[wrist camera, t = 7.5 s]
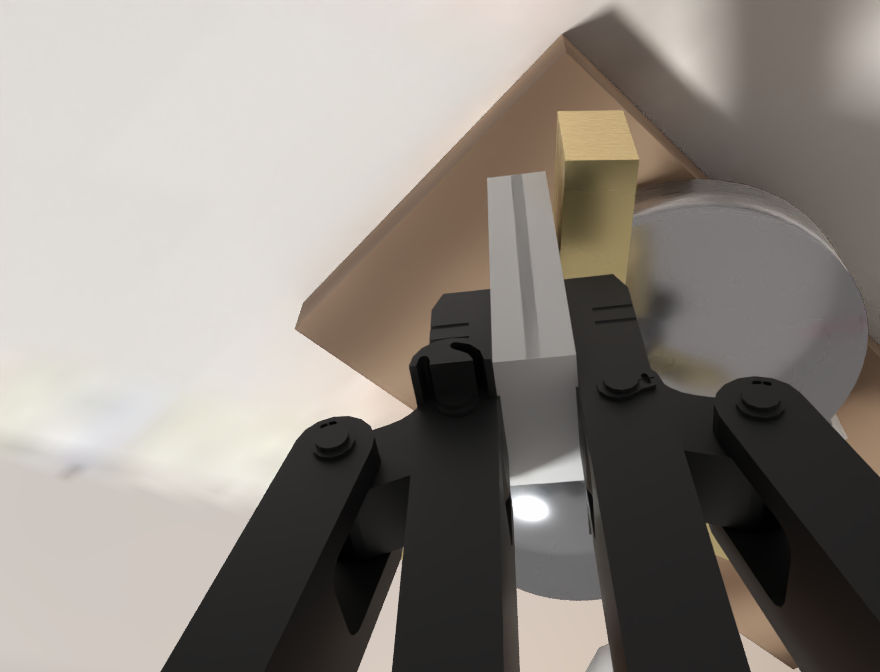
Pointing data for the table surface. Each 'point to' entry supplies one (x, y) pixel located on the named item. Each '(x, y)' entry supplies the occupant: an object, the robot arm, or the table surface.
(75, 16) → the table surface
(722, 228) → the cam capstan
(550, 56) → the board
